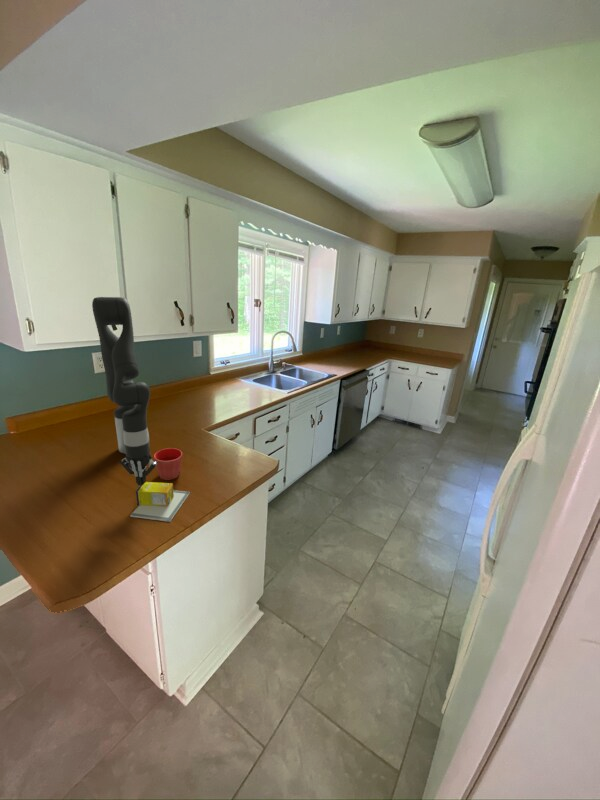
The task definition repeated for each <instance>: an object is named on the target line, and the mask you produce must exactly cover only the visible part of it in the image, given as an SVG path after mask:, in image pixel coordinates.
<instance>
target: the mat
mask: <svg viewBox="0 0 600 800" xmlns="http://www.w3.org/2000/svg"><path fill="white" fill-rule="evenodd" d="M173 493H174V497H173V499H172V501H171V502H170V504H169V506H151V505H138V506H137V507H135V510H134V511H133V512H131V514H130V517H132V518H137V519H138V518H139V519H146V520H152V521H161V522H167V523H171V522H172V520H173V519H174V517H175V516H176V514H177V512H179V510H180V508H182V505H183V504H184V502H185V501H186V500H187V499H188V497H189V495H190V494H191V492H190V491H184V490H177V489H173Z"/></svg>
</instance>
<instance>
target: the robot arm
mask: <svg viewBox="0 0 600 800" xmlns="http://www.w3.org/2000/svg"><path fill="white" fill-rule="evenodd" d="M91 306H92V312H93V313H92V314H93V316H94V317H93V319H94V321H95V325H96V329H97V332H98V338H99V344H100V351H101V359H102V363H103V367H104V372H105V380H106V393H107V397H108V399H109V401H110V402H112V403H115V405H116V406H118V407H117V408H115V409H114V411H113V414H114V415H113V416H114V423H115V429H116V430H115V431H116V439H117V445H118V452H119V453H121V454H124V455H125V457H124V458H122V459H121V460H120V461H119V464H120V465H121V466H122V467H123V468H124V469H125V471H127V472H128V474H129V475H134V476H135V482H136V484H137V486H142V485H143V484H144V483H145V482H147V477H148V475H149V474H151V472H152V471H153V470H154V469H155V468H156V465H157V464H158V462H157V461H155V460H153V458H152V456H151V445H150V434H149V429H148V421H147V420H148V419H147V411H148V406H149V402H150V397H151V389H150V387H149V386H148V383H145V382H144V381H143V382H142V381H139V382H135V381H134V379H136V378H137V377H139V375H140V370H139V365H138V361H137V357H136V356H137V355H136V351H135V339H134V338H135V337H134V328H133V320H132V319H133V318H132V312H131V307H130V304H129V301H128V300H127V299H126V297H120V296H118V297H117V296H114V297H113V296H110V297H109V296H108V297H106V296H98V297H94V298H93V300H92V305H91ZM119 325H120V326H122V330H121V333H120V336H119V337H118V336H117V335H116V334H115V333H113V332H114V331H112V330H111V328H110V327H109V326H119ZM147 467H148V469H147Z"/></svg>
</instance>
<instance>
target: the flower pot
mask: <svg viewBox="0 0 600 800" xmlns="http://www.w3.org/2000/svg"><path fill="white" fill-rule="evenodd" d="M153 456H154V457H153V458H154V462H155V461H157V462H158V464H157V465H156V466H155V468H156V470H157V473H158V476H159V478H160V479H162V480H165V481H168V480H174V479H175V478H178V477H179V475H180V473H181V472H180V471H181V468H182V467H181V466H182V460H183V452H182V450H180V449H178V448H175V447H168V448H167V447H166V448H163V449H160V450H158V451H157V452H155V453H154V455H153Z"/></svg>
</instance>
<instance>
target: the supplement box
mask: <svg viewBox="0 0 600 800" xmlns="http://www.w3.org/2000/svg"><path fill="white" fill-rule="evenodd" d="M173 490H174V483H171V482H157V481H156V482H154V481H153V482H152V481H146V482H145V483H144V484H143V485H142V486H140V485H138V487H137V489H136V490H135V495H136V505H138V506H139V505H151V506H169V504H170V502H171V501H172V499H173V497H174V493H173Z"/></svg>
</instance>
